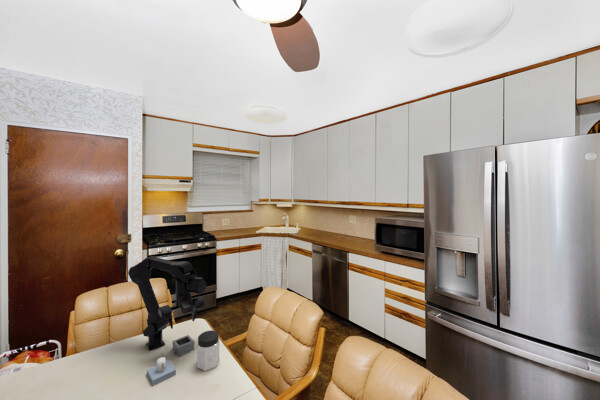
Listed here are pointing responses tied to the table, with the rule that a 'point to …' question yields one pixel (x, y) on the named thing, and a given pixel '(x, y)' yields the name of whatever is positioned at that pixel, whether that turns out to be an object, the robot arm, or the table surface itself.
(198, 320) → the table surface
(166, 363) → the shaft block
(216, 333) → the jar
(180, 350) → the collar
